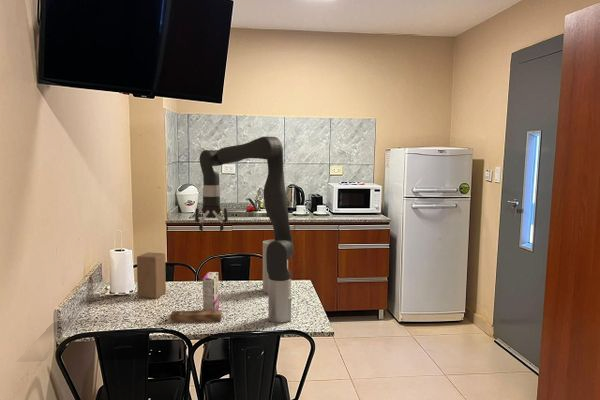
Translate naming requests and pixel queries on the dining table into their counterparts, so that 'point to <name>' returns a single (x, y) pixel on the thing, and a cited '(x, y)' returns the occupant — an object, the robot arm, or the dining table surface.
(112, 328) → the dining table surface
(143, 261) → the wooden block
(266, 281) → the cylinder vase
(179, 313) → the guide board
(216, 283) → the candy bar box
